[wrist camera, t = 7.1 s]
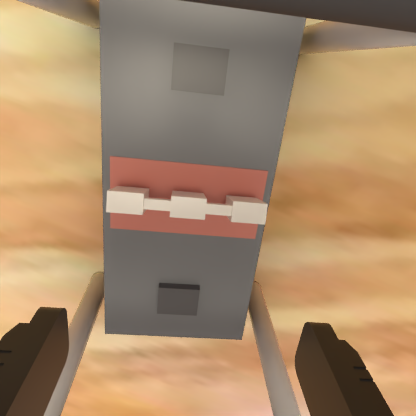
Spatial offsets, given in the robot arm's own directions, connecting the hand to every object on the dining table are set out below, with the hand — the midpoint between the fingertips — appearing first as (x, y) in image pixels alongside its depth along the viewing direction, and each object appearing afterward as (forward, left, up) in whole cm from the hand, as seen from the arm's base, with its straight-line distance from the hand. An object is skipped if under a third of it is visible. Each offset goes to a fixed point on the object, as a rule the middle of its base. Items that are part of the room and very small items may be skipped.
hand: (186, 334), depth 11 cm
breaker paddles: (0, 0, -12) cm, 12 cm away
